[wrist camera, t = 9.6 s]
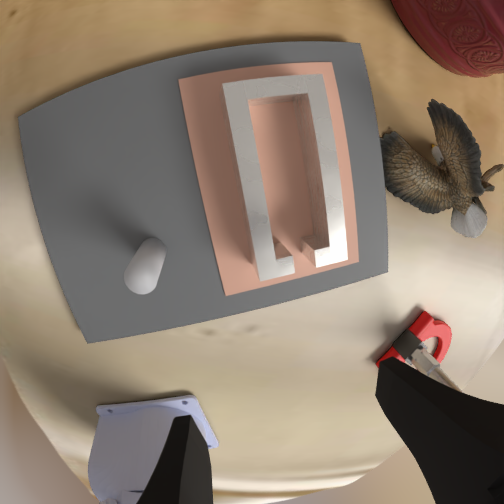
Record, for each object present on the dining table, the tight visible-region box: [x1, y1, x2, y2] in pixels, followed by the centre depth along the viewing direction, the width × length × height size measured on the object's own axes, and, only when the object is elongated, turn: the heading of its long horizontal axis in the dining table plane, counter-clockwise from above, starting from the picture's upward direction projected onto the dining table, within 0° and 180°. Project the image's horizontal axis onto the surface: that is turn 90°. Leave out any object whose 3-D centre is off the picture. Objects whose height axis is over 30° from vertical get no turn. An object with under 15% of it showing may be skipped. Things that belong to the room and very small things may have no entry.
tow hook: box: [376, 311, 463, 393], centre depth 19 cm, size 8×13×9 cm
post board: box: [18, 41, 388, 344], centre depth 15 cm, size 22×16×5 cm
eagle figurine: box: [380, 99, 504, 238], centre depth 16 cm, size 8×7×9 cm
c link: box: [219, 74, 348, 282], centre depth 15 cm, size 5×10×2 cm, turn 10°
